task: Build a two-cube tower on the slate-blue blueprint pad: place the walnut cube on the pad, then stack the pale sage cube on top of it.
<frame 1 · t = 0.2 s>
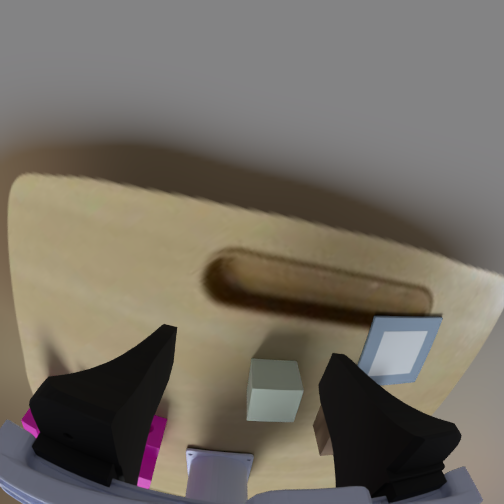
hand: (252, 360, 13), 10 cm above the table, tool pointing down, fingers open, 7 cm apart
sage cube: (270, 376, 25), on the table
blueprint pad: (397, 352, 25), on the table
walnut cube: (337, 410, 27), on the table
toy block: (103, 408, 27), on the table
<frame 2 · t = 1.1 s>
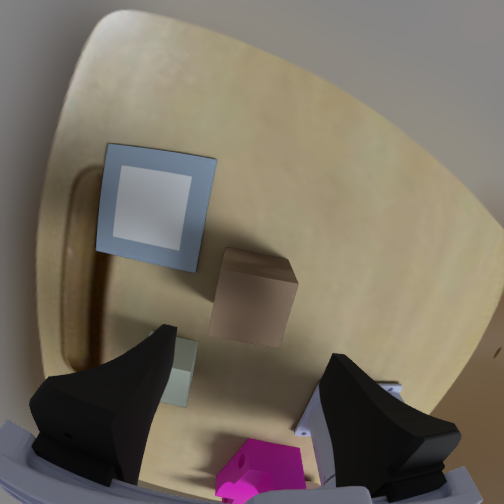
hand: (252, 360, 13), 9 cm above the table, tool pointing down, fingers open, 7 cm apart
sage cube: (172, 354, 23), on the table
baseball: (297, 483, 31), on the table
blueprint pad: (150, 206, 20), on the table
walnut cube: (250, 282, 21), on the table
toy block: (247, 469, 29), on the table
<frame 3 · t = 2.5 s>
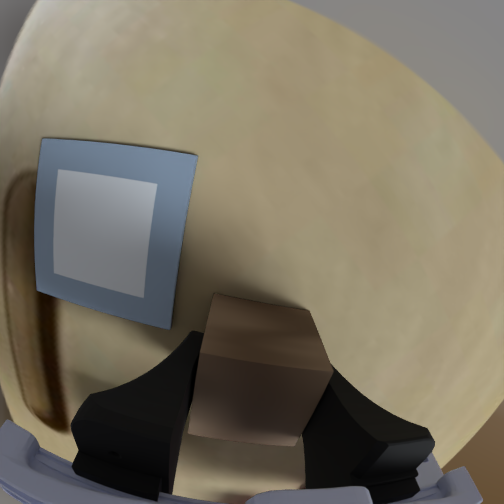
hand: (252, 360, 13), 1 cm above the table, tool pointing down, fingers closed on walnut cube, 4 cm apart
blueprint pad: (99, 231, 12), on the table
walnut cube: (252, 342, 14), on the table, touching gripper
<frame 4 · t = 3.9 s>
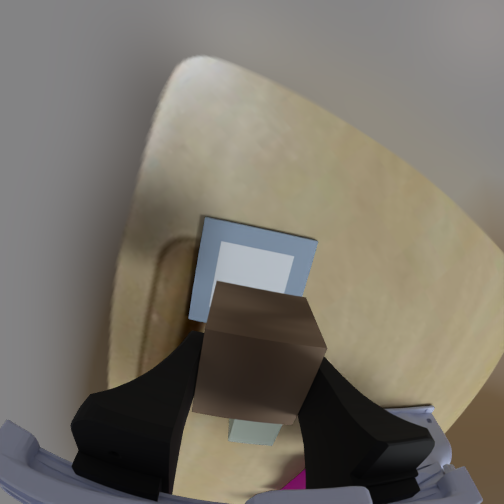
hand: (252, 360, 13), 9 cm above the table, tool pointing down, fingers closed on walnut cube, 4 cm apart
sage cube: (254, 400, 25), on the table
blueprint pad: (250, 281, 21), on the table
walnut cube: (252, 328, 15), point 7 cm above the table, touching gripper
toy block: (308, 481, 31), on the table
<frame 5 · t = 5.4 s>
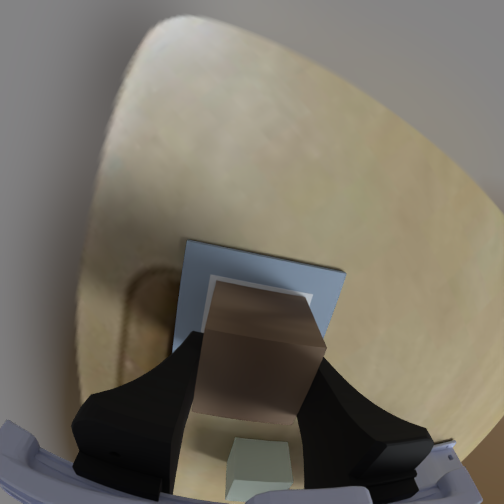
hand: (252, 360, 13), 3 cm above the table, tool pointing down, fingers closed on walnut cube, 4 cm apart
sage cube: (256, 452, 19), on the table
blueprint pad: (251, 326, 15), on the table
walnut cube: (251, 327, 15), resting on blueprint pad, touching gripper
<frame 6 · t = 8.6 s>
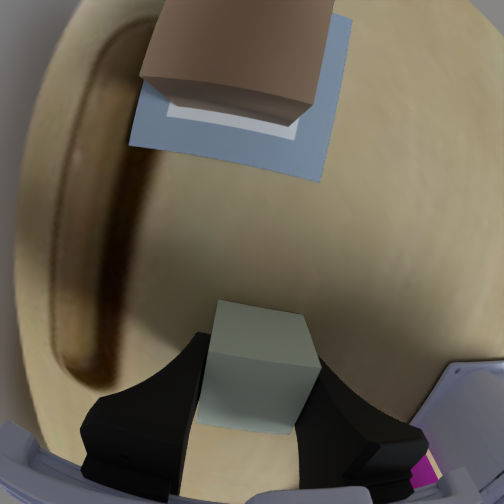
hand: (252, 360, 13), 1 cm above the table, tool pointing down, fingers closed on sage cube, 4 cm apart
sage cube: (252, 342, 14), on the table, touching gripper
blueprint pad: (243, 69, 10), on the table
walnut cube: (244, 64, 10), resting on blueprint pad
toy block: (344, 485, 20), on the table, touching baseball
when the fingers open (7 cm above the table, at t = 11.5 s): sage cube stays where it is, resting on walnut cube.
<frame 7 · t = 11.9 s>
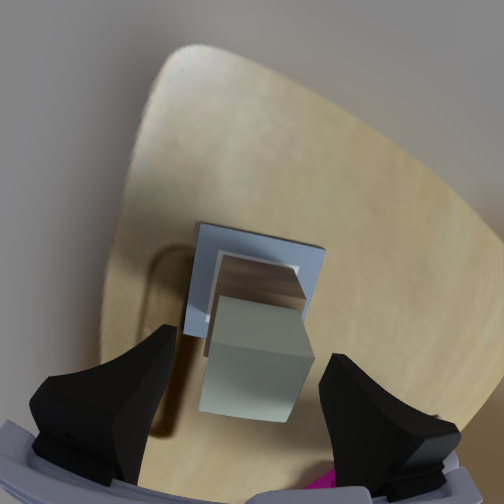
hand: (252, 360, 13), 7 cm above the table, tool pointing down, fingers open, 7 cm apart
sage cube: (251, 336, 15), point 5 cm above the table, touching walnut cube
blueprint pad: (250, 293, 19), on the table
walnut cube: (251, 293, 19), resting on blueprint pad, touching sage cube
toy block: (322, 488, 29), on the table
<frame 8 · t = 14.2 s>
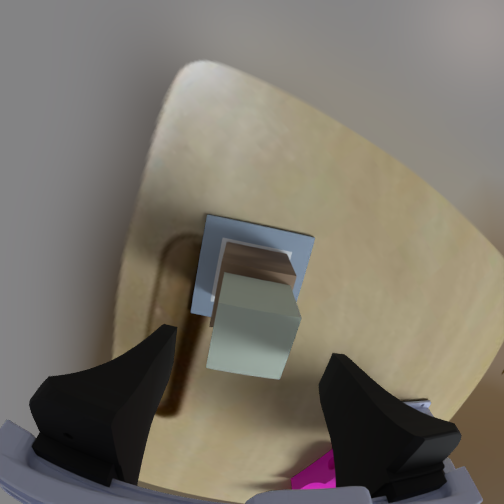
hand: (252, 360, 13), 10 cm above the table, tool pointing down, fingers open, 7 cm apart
sage cube: (250, 308, 18), point 5 cm above the table, touching walnut cube
blueprint pad: (250, 276, 22), on the table
walnut cube: (250, 276, 22), resting on blueprint pad, touching sage cube
toy block: (319, 471, 32), on the table
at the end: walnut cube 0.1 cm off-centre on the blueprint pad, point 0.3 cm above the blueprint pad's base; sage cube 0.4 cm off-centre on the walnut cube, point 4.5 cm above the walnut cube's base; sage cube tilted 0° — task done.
